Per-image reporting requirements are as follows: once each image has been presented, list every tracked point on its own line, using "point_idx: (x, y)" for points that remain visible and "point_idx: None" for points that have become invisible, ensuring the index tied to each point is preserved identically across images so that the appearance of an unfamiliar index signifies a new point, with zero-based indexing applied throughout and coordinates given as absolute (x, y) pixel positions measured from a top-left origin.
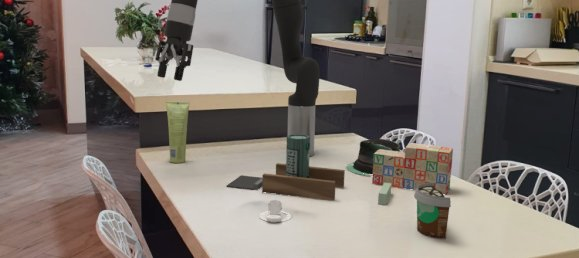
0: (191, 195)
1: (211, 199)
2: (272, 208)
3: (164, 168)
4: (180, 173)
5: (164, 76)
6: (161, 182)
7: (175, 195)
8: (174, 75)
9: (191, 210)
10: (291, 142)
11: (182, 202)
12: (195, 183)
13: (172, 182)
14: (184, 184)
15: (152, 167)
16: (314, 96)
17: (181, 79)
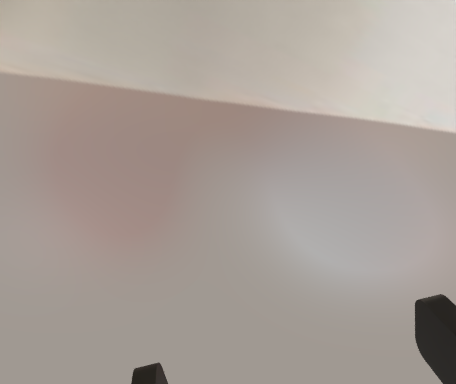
0: (371, 70)
1: (431, 35)
2: None
3: (71, 39)
4: (157, 11)
5: (160, 372)
6: (225, 101)
7: (344, 105)
8: (440, 377)
9: (450, 109)
10: None
11: (396, 108)
12: (287, 13)
13: (240, 73)
14: (277, 49)
15: (45, 73)
16: None
17: (446, 300)
